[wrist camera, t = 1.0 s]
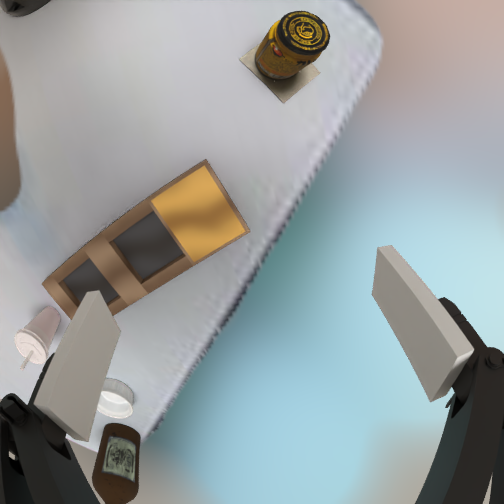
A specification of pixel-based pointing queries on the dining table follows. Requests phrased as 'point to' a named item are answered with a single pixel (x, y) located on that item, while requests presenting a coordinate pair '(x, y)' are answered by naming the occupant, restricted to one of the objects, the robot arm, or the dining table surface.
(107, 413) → the ramekin
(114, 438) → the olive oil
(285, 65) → the condiment
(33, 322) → the smoothie
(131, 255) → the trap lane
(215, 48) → the dining table surface
